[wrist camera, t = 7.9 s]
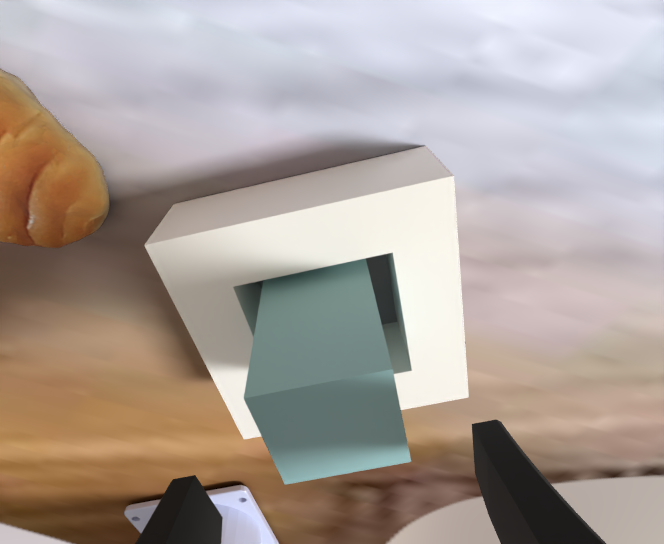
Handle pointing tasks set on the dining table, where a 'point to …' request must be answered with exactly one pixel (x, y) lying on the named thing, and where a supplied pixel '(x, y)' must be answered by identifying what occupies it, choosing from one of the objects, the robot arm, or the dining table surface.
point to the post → (324, 376)
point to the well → (321, 251)
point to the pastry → (44, 175)
